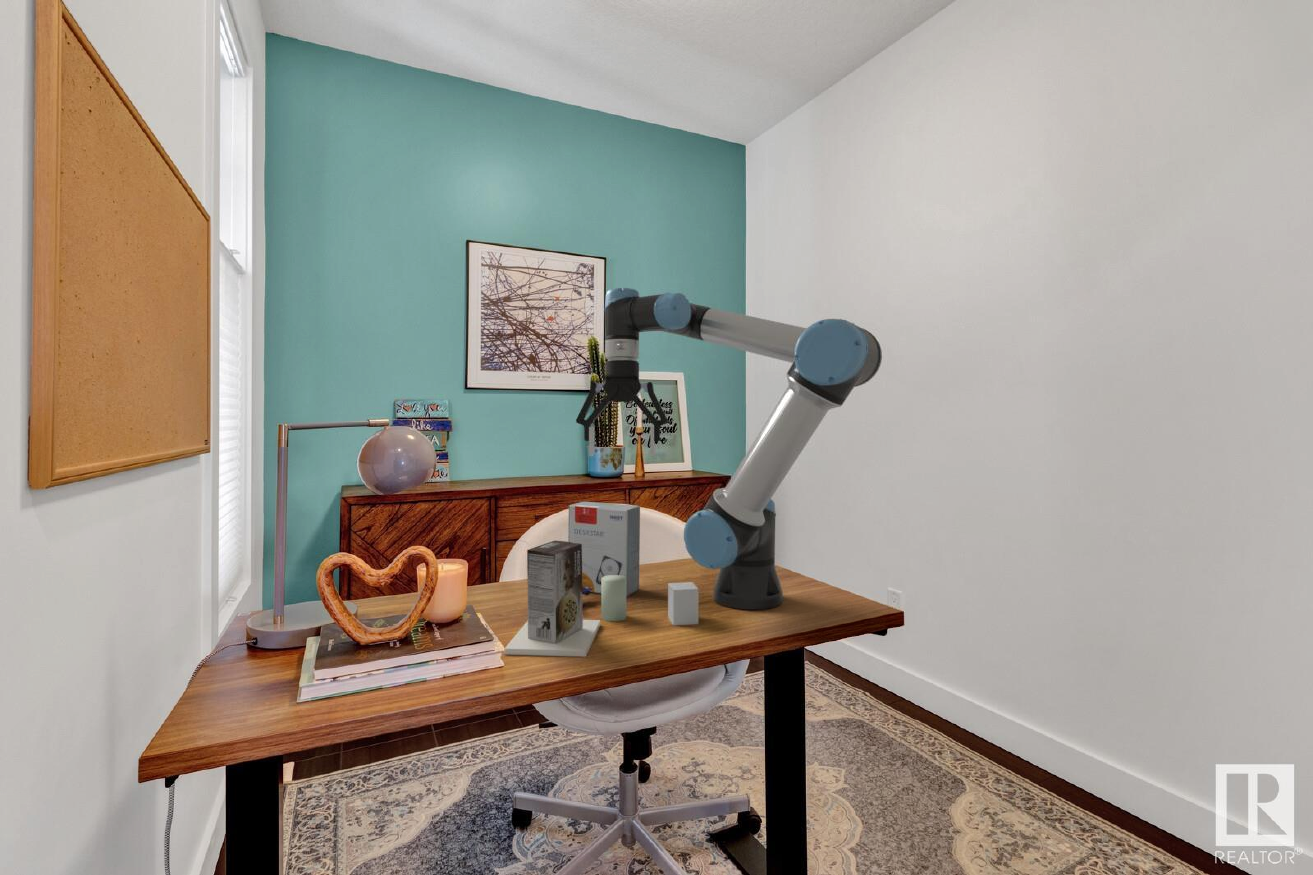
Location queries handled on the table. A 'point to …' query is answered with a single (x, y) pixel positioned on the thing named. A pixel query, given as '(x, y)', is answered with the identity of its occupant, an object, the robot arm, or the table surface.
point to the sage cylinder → (613, 598)
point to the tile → (567, 647)
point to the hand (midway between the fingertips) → (622, 456)
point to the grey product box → (554, 591)
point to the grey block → (683, 603)
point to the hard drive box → (606, 542)
